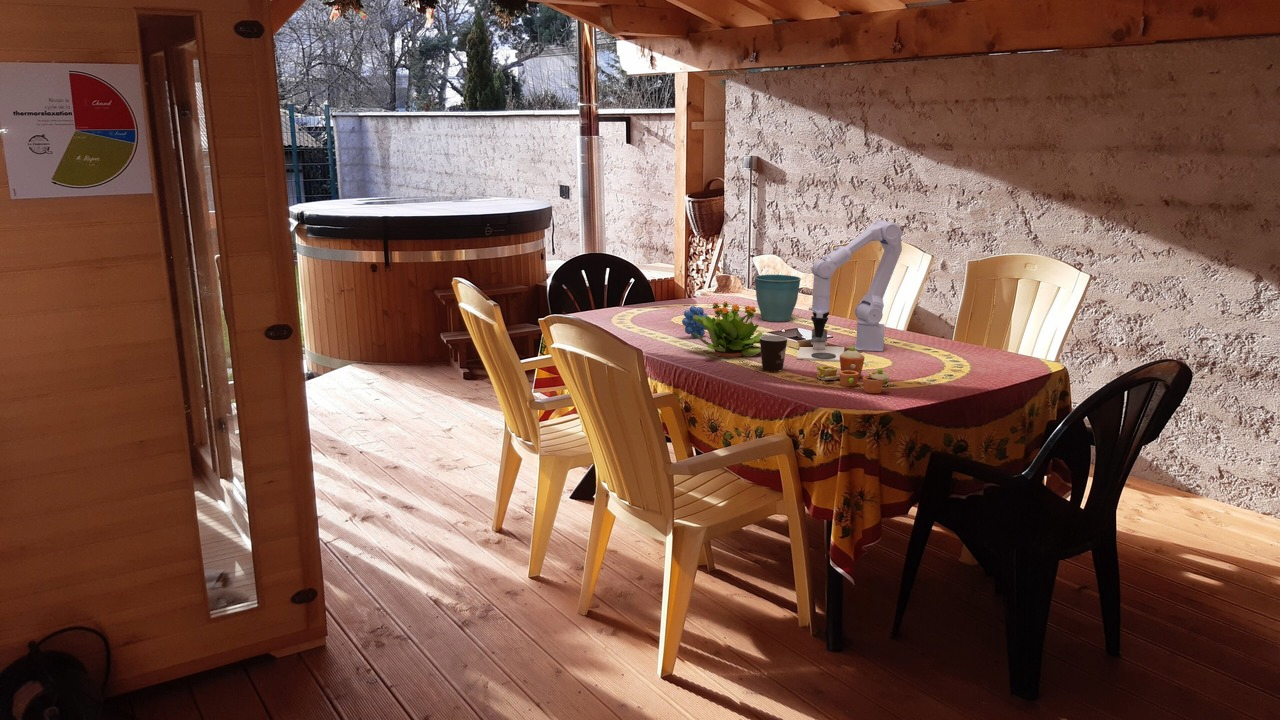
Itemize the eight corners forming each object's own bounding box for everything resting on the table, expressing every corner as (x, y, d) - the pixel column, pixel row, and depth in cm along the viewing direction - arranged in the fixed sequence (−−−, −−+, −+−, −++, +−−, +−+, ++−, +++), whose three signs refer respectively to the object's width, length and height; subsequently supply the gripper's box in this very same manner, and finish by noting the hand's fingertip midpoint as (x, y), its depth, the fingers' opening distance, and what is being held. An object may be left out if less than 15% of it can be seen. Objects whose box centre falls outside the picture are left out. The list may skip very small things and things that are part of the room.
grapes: (689, 341, 338) (689, 308, 335) (678, 338, 343) (678, 305, 341) (715, 338, 344) (715, 305, 341) (704, 335, 350) (704, 302, 347)
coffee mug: (769, 373, 294) (770, 342, 291) (753, 367, 301) (754, 336, 299) (799, 369, 299) (800, 338, 296) (783, 363, 306) (784, 333, 304)
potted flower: (732, 366, 302) (733, 312, 298) (675, 355, 318) (676, 303, 314) (777, 353, 320) (779, 302, 316) (721, 343, 336) (722, 294, 332)
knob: (827, 339, 326) (827, 328, 325) (826, 342, 321) (827, 331, 320) (811, 338, 327) (812, 327, 326) (811, 341, 322) (811, 330, 321)
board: (844, 348, 328) (844, 338, 327) (843, 361, 309) (843, 351, 308) (800, 346, 331) (800, 336, 330) (796, 359, 312) (797, 348, 311)
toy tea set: (808, 378, 290) (810, 347, 287) (846, 371, 298) (847, 341, 295) (871, 397, 268) (873, 364, 266) (909, 390, 276) (912, 358, 274)
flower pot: (767, 313, 391) (768, 272, 387) (806, 318, 381) (808, 276, 377) (745, 320, 377) (746, 278, 373) (785, 325, 367) (787, 282, 363)
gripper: (810, 291, 328) (808, 330, 331) (808, 298, 314) (806, 338, 317) (831, 292, 327) (829, 331, 330) (829, 299, 313) (827, 339, 316)
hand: (819, 335), depth 323 cm, fingers open, 7 cm apart
